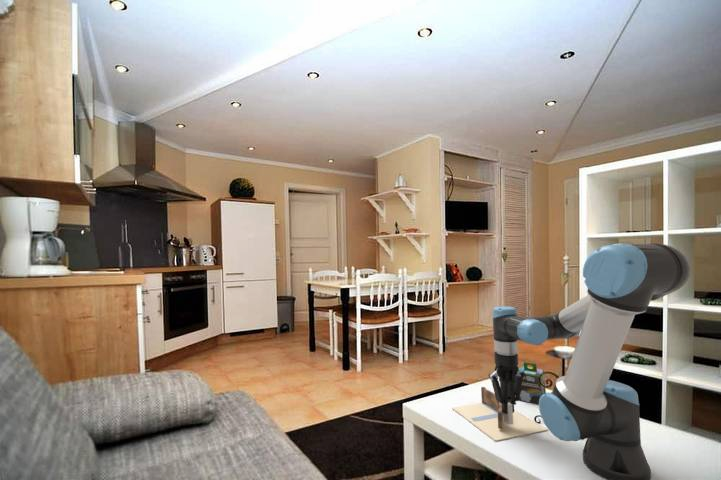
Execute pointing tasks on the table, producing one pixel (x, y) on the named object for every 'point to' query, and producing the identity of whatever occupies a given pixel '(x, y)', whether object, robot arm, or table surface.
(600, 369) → the robot arm
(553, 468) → the table surface
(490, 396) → the fixed panel
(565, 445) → the table surface
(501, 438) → the card
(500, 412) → the hinged panel
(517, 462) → the table surface
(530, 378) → the chalk box
